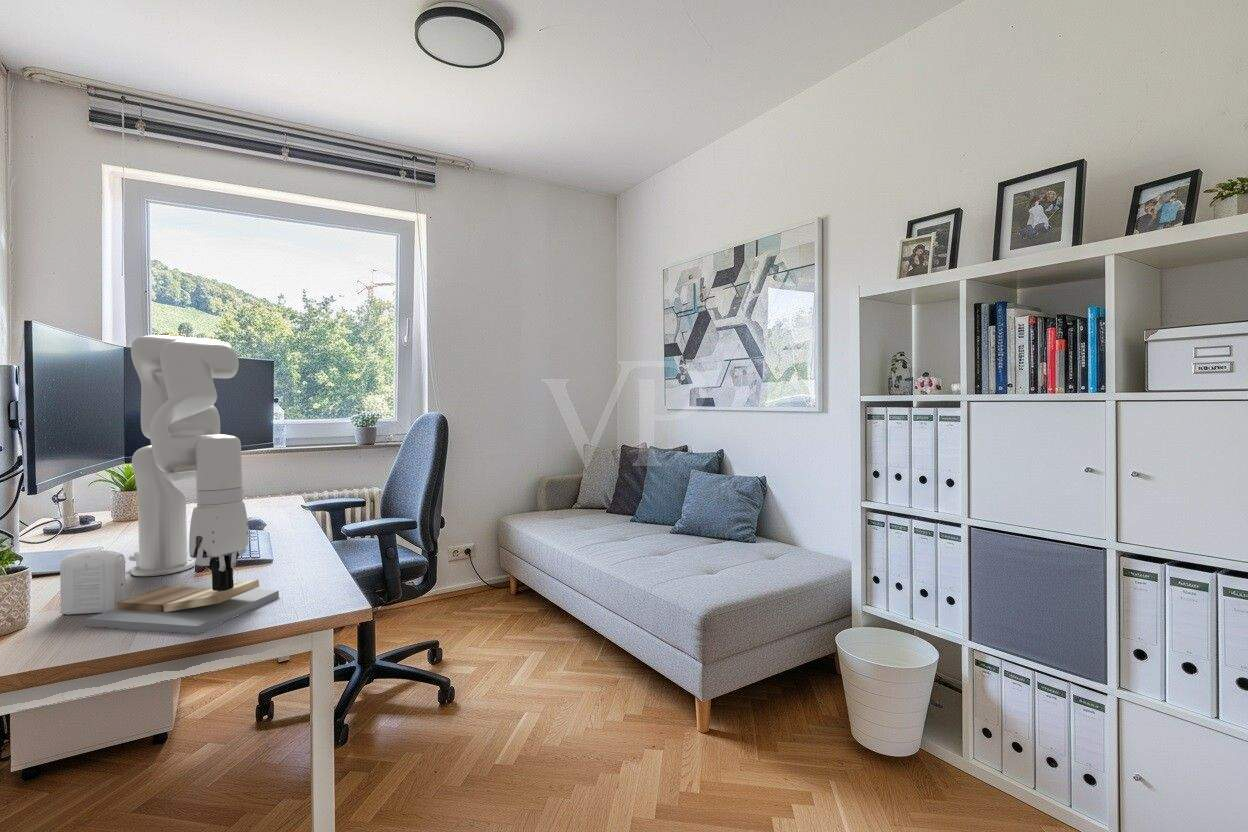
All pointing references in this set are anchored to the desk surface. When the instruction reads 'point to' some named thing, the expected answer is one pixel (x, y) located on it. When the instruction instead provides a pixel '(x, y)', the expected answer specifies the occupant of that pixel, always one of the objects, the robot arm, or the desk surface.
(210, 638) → the desk surface
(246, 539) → the robot arm
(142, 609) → the flat wooden square
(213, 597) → the oak plank
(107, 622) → the floor board
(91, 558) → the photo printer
